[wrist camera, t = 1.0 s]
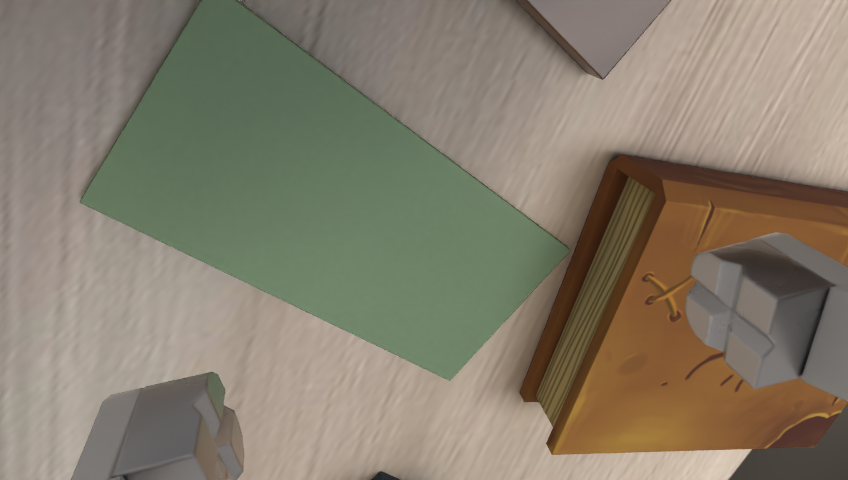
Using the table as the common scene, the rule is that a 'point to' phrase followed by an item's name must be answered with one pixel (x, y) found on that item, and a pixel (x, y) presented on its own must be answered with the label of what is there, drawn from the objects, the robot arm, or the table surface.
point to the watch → (384, 477)
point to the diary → (671, 317)
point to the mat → (318, 195)
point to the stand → (595, 27)
